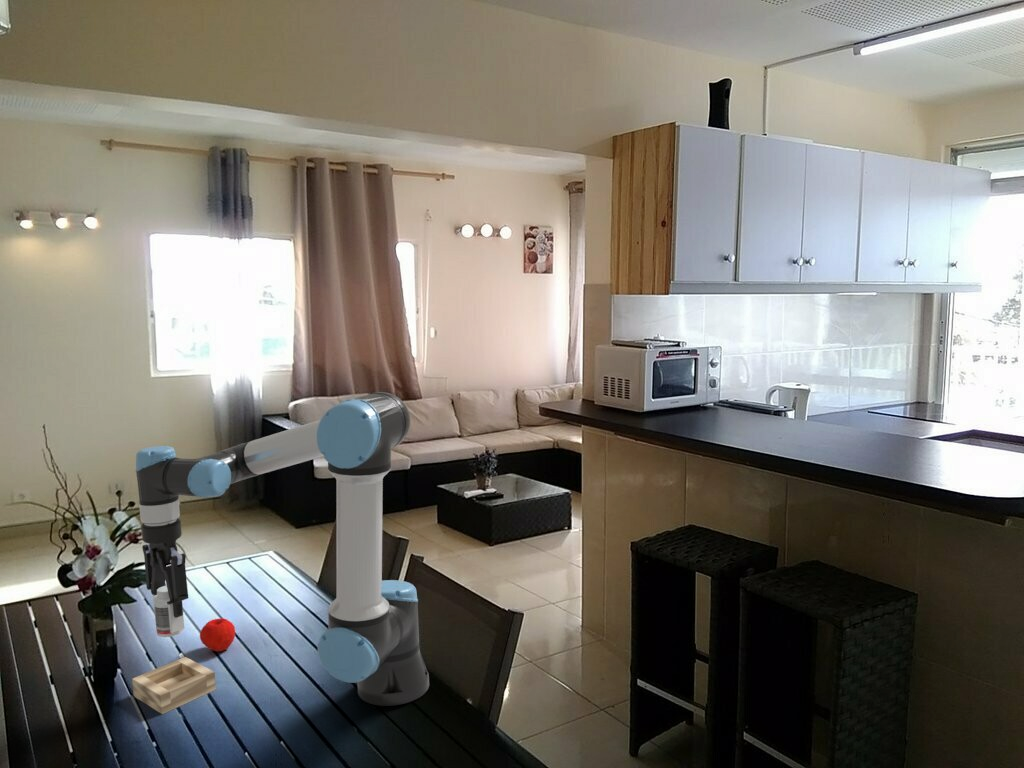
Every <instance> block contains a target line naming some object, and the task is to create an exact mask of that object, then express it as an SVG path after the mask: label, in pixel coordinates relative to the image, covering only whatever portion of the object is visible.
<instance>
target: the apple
mask: <svg viewBox="0 0 1024 768" xmlns="http://www.w3.org/2000/svg"><path fill="white" fill-rule="evenodd" d="M235 628H236V627H235V625H234V624H233V623H232V622H231V621H230V620H228V619H227V618H221V617H220V618H214V619H211V620H209V621H208V622H206V623H205V625H204V626H203V627H202V628H201V630H200V633H199V639H200V641H201V643H202V644H203V645H204V646H206V647H207V649H209V650H211V651H213V652H223V651H225V650H228V648H229V647H231V645H232V644H233V642H234V640H235V637H236V629H235Z"/></svg>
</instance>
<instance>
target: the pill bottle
mask: <svg viewBox="0 0 1024 768" xmlns="http://www.w3.org/2000/svg"><path fill="white" fill-rule="evenodd" d="M157 597H158V598H157V599H156V600H155V602H154V601H153V608H155V611H154V620H155V619H156V622H155V628H156V630H155V632H156V635H157V636H158V637H161V638H171V637H175V636H177V635H180V634H181V633H182V632H183V631H184V630H185V628H184V629H182V630H180V631H177V632H174V633H171V632H170V623H169V611H168V604H167V602H168V601H170V598H169V594H168V589H167V585H165V586H163V587H160V588H158V589H157Z"/></svg>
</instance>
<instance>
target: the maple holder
mask: <svg viewBox="0 0 1024 768" xmlns="http://www.w3.org/2000/svg"><path fill="white" fill-rule="evenodd" d="M215 673H216V672H215V671H213V670H212V669H209V668H207V667H206V666H204V665H202V664H200V663H198V662H196V661H195V660H192V659H190V658H188V657H187V656H184V657H181V658H179V659H176V660H173V661H171V662H169V663H167V664H164V665H162V666H160V667H157V668H154V669H152V670H149V671H147V672H145V673H143V674H140V675H138V676H135V677H133V678H131V680H132V692H133V697H134V698H135V699H137V700H139V701H141V702H142V703H144V704H146V705H147V706H149V707H150V708H152V709H153V710H155V711H156V712H158V713H159V714H161V715H163V714H165V713H167V712H170V711H173V710H174V709H177V708H179V707H181V706H183V705H185V704H188V703H189V702H192V701H194V700H196V699H198V698H201V697H203V696H205V695H207V694H210V693H212V692H214V691H216V690H217V685H216V683H217V682H216V674H215Z"/></svg>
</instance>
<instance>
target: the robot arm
mask: <svg viewBox="0 0 1024 768" xmlns="http://www.w3.org/2000/svg"><path fill="white" fill-rule="evenodd" d="M410 414H411V413H410V411H409V409H408V407H407V405H406V403H405V402H404V401H403V400H402V399H401V398H400V397H399V396H397V395H395V394H393V393H389V392H387V391H386V392H385V391H378V392H377V391H376V392H372V393H368V394H366V395H362V396H359V397H355V398H349V399H345V400H343V401H341V402H339V403H337V404H336V405H334V406H332V407H330V409H328V410H327V411H326V412H325V413H324V414H323V415H322V417H321V418H320V419H318V420H316V421H312V422H309V423H306V424H303V425H299V426H296V427H292V428H290V429H286V430H283V431H280V432H276V433H273V434H270V435H267V436H263V437H261V438H257V439H253V440H251V441H248V442H243V443H238V444H236V445H233V446H231V447H227V448H226V449H222V450H220V451H215V452H213V453H210V454H207V455H204V456H201V457H197V458H180V457H177V454H176V451H175V448H174V447H172V446H167V445H157V446H156V445H155V446H150V447H149V446H148V447H145V448H141V449H140V450H138V451H137V453H136V455H135V474H136V481H137V482H136V483H137V491H138V499H139V502H138V505H139V506H138V507H139V516H140V522H141V523H142V524H141V537H142V541H143V542H144V543H145V544H144V545H142V549H141V550H142V552H143V557H144V570H145V571H144V573H145V585H146V589H147V591H150V594H151V595H153V596H152V597H153V603H154V602H155V600H156V599H157V598H158V597H157V589H158V588H160V587H163V586H167V589H168V594H169V598H170V601H168V602H167V604H168V611H169V623H170V632H171V633H174V632H177V631H180V630H182V629H184V630H185V619H184V618H185V617H184V608H183V607H184V606H183V601H184V600H188V599H189V591H188V581H187V580H188V579H187V571H186V570H187V569H186V559H187V558H186V557H187V555H186V554H185V553H184V552H182V553H179V552H178V551H179V550H178V546H177V543H176V541H177V540H178V539H180V538H181V537H182V534H183V532H182V522H181V521H182V520H181V519H180V516H181V512H180V505H181V501H180V499H179V498H180V497H179V496H187V497H199V498H204V499H205V498H214V497H215V498H217V497H220V496H223V495H224V494H225V493H226V491H227V490H228V489H229V488H230V485H232V484H235V483H238V482H241V481H243V480H247V479H250V478H253V477H257V476H259V475H263V474H266V473H271V472H274V471H277V470H281V469H284V468H287V467H291V466H294V465H297V464H302V463H305V462H308V461H311V460H315V459H318V458H322V457H323V458H324V460H325V461H326V462H327V471H328V473H329V474H331V476H333V477H334V478H335V480H336V598H335V599H333V600H332V602H330V604H329V606H328V611H327V612H328V614H327V615H328V620H327V621H328V628H327V630H326V631H324V632H323V633H322V634H321V637H320V639H319V641H318V643H317V655H318V659H319V661H320V663H321V665H322V668H323V669H325V670H327V672H329V675H331V676H332V678H335V679H337V680H338V681H341V682H344V683H350V684H351V683H352V684H353V683H354V684H355V683H357V684H356V685H357V694H358V696H359V698H360V699H361V700H362V701H363V702H365V703H368V704H371V705H375V706H380V707H385V706H386V707H390V706H391V707H392V706H400V705H403V704H408V703H410V702H414V701H415V700H417V699H420V698H421V697H422V696H424V695H425V694H426V692H427V691H428V690H429V687H430V676H429V675H430V674H429V671H428V669H427V667H426V663H425V661H424V658H423V656H422V654H421V651H420V650H421V649H420V632H419V630H420V629H419V628H420V626H419V608H418V607H419V605H418V604H419V603H418V602H419V599H418V595H417V592H418V591H417V588H416V587H415V586H414V584H413V583H411V582H408V581H405V580H396V579H389V580H388V579H387V580H386V579H385V580H383V579H382V578H383V576H382V573H383V495H384V494H383V491H384V489H383V488H384V487H383V486H384V485H383V483H384V482H383V481H384V480H383V479H384V477H386V475H388V473H389V472H391V468H392V466H391V465H392V462H391V461H392V449H393V448H395V447H397V446H399V445H400V444H401V443H402V442H403V441H404V440H405V438H406V437H407V435H408V433H409V430H410V427H411V416H410ZM153 608H154V607H153ZM153 611H154V612H155V608H154V609H153ZM154 620H155V623H156V619H155V618H154Z"/></svg>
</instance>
